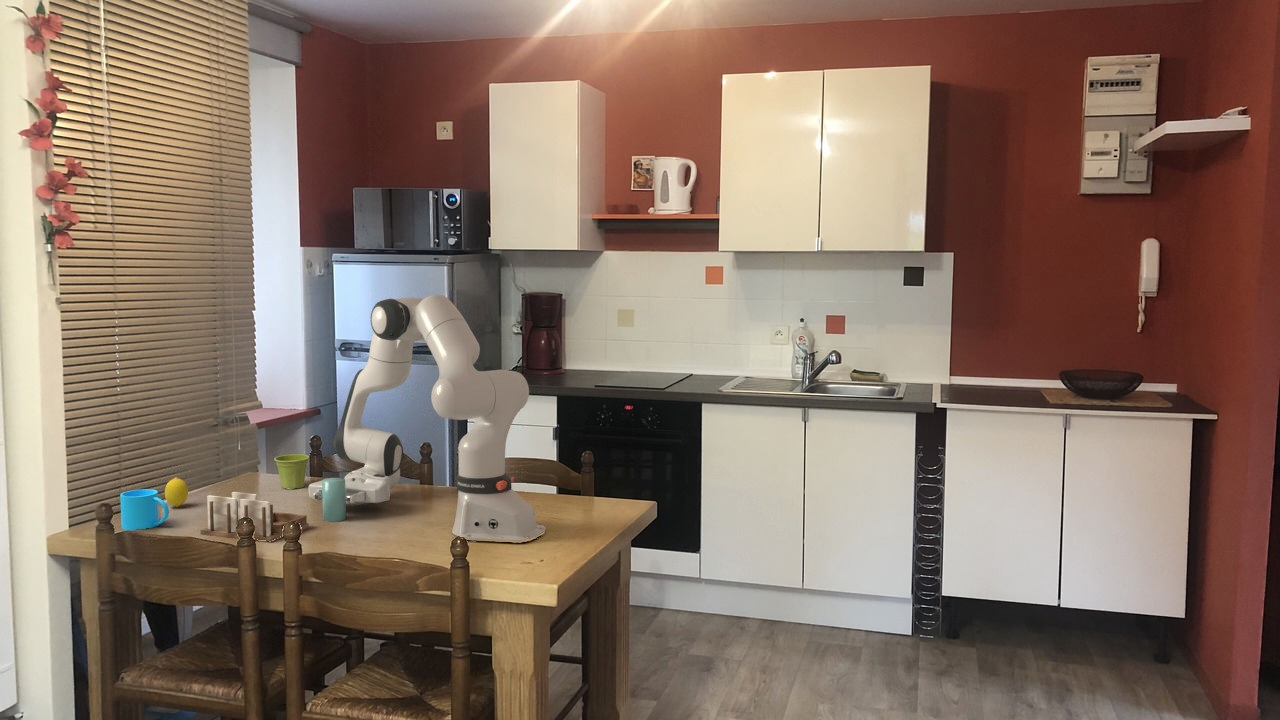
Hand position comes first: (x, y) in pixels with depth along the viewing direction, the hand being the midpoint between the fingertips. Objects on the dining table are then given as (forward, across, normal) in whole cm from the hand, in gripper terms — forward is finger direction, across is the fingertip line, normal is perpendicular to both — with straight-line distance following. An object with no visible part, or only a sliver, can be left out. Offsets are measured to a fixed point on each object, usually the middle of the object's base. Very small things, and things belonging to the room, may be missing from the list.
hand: (332, 498), depth 252 cm
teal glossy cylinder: (-1, 0, +6) cm, 6 cm away
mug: (+18, -40, +6) cm, 44 cm away
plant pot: (-29, -30, +6) cm, 42 cm away
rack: (+14, -12, +6) cm, 20 cm away
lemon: (0, -45, +6) cm, 46 cm away
